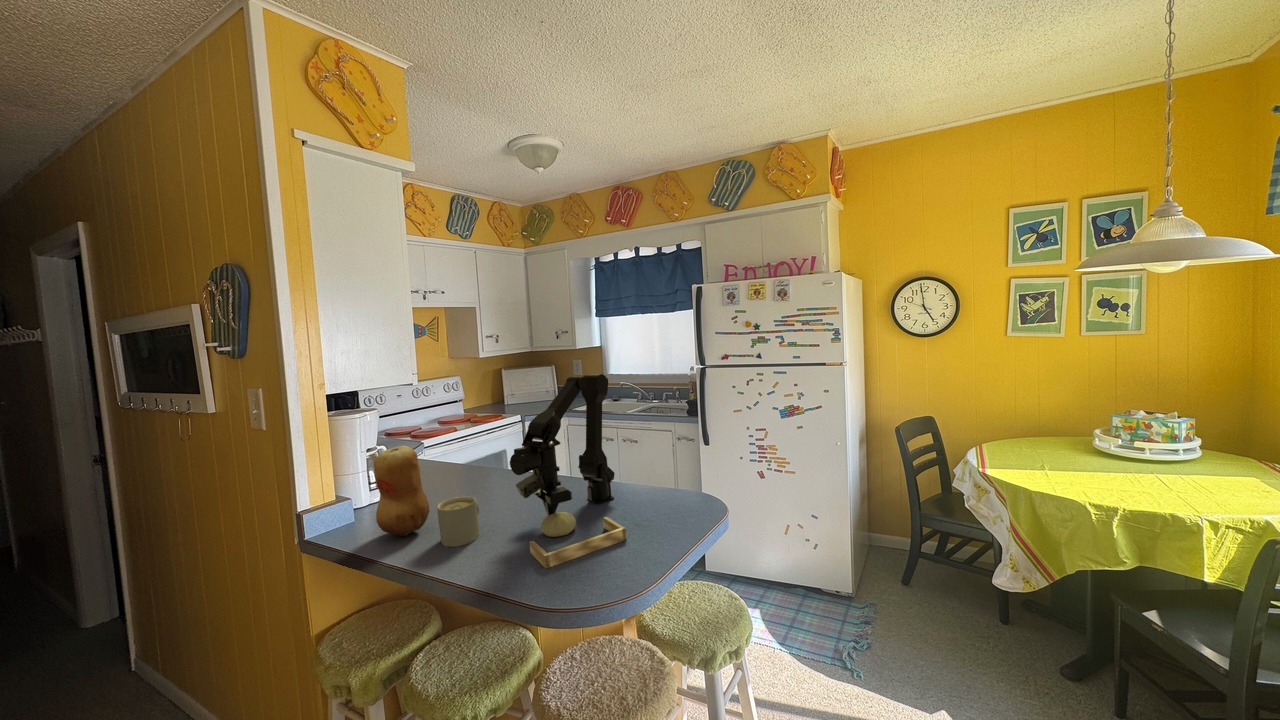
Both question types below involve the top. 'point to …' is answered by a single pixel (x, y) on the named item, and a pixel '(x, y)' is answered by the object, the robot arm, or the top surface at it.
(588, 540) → the box
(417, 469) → the butternut squash
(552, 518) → the sea urchin shell
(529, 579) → the top surface
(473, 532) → the coffee mug
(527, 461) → the robot arm
